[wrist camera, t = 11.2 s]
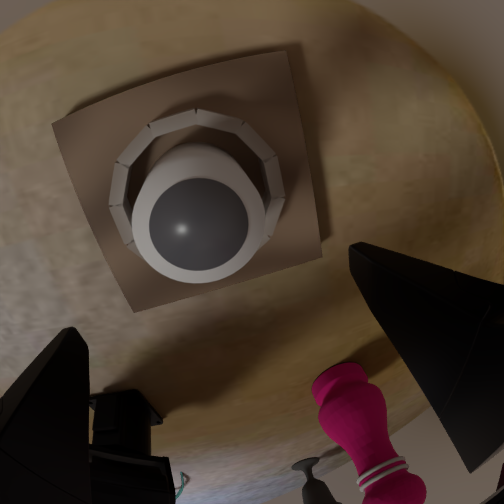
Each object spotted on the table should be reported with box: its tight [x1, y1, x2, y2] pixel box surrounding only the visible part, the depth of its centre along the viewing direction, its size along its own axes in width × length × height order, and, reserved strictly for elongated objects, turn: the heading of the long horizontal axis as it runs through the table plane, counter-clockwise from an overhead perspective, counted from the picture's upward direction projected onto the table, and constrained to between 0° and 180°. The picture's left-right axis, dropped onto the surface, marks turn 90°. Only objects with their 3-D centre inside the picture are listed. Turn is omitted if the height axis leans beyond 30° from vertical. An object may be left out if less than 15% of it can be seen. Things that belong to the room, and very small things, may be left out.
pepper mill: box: [312, 362, 426, 504], centre depth 24 cm, size 7×7×20 cm
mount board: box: [52, 50, 322, 313], centre depth 18 cm, size 14×14×3 cm
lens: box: [132, 142, 265, 283], centre depth 16 cm, size 6×6×5 cm
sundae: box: [292, 458, 342, 504], centre depth 38 cm, size 7×7×15 cm
